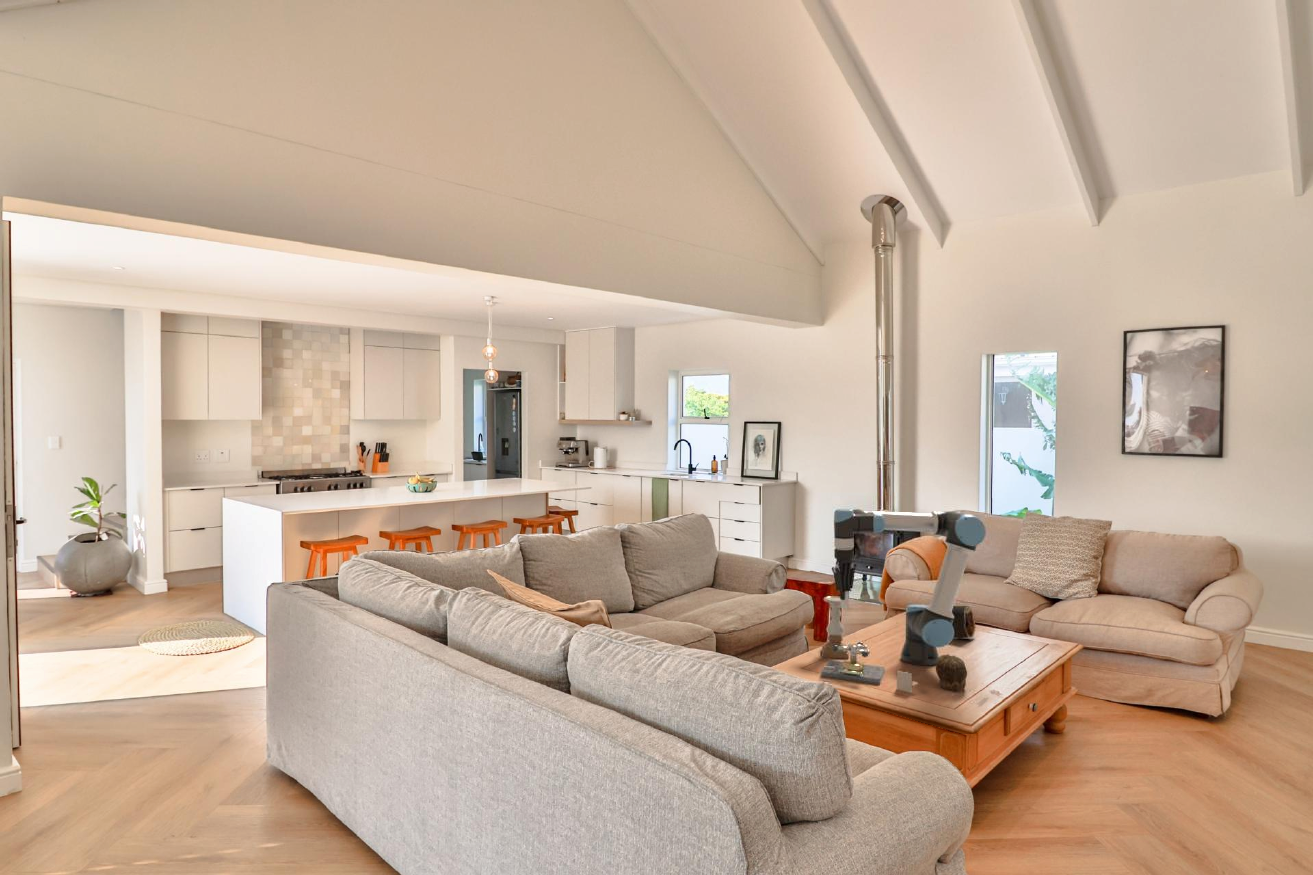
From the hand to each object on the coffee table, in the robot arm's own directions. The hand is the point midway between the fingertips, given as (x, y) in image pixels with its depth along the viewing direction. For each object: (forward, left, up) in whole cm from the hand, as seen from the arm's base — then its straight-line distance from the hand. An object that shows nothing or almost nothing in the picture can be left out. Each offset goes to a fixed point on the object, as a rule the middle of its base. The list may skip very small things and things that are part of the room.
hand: (844, 607), depth 311 cm
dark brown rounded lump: (-40, +4, -26) cm, 48 cm away
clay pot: (-35, -72, -26) cm, 84 cm away
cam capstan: (-3, +3, -23) cm, 24 cm away
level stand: (-4, +3, -26) cm, 26 cm away
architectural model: (-24, +13, -26) cm, 38 cm away
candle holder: (+7, -21, -26) cm, 34 cm away
